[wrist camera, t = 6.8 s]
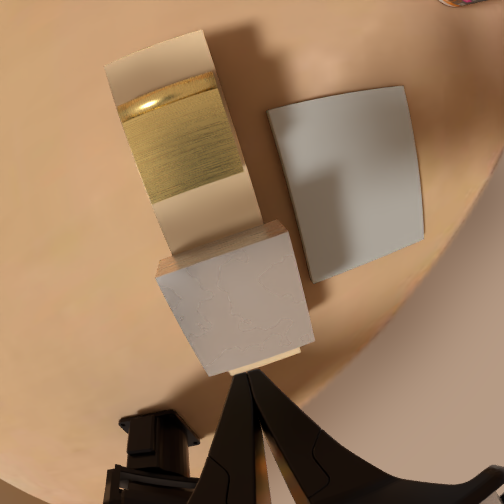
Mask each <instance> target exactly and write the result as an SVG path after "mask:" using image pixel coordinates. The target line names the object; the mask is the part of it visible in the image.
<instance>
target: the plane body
mask: <svg viewBox="0 0 504 504" xmlns="http://www.w3.org/2000/svg"><path fill="white" fill-rule="evenodd" d="M104 69H105V72H106V76H107V79H108V83H109V86H110V89H111V92H112V96H113V99H114V102H115V105H116V108H117V106H119V105H121V104H123V103H125V102H128V101H130V100H132V99H135V98H137V97H140V96H142V95H144V94H147V93H149V92H152V91H155V90H157V89H160V88H162V87H165V86H168V85H171V84H173V83H176V82H179V81H182V80H185V79H188V78H191V77H194V76H197V75H201V74H204V73H207V72H211V71H212V73H213V75H214V78H215V81H216V84H217V88H218V91H219V94H220V97H221V100H222V103H223V106H224V110H225V113H226V116H227V119H228V122H229V125H230V128H231V131H232V135H233V138H234V141H235V144H236V147H237V150H238V154H239V157H240V160H241V163H242V166H243V170H244V172H242V173H239V174H236V175H233V176H230V177H227V178H224V179H221V180H218V181H215V182H212V183H209V184H206V185H203V186H201V187H198V188H195V189H192V190H189V191H187V192H184V193H181V194H179V195H176V196H173V197H171V198H168V199H165V200H163V201H160V202H157V203H155V204H152V203H151V201H150V203H151V205H152V208H153V210H154V213H155V215H156V218H157V220H158V223H159V225H160V227H161V230H162V232H163V235H164V237H165V239H166V242H167V244H168V246H169V249H170V251H171V253H172V256H173V255H176V254H179V253H182V252H185V251H187V250H190V249H193V248H196V247H199V246H201V245H204V244H207V243H210V242H213V241H216V240H219V239H221V238H224V237H227V236H230V235H233V234H236V233H239V232H242V231H245V230H247V229H250V228H253V227H256V226H259V225H262V224H264V222H263V219H262V216H261V212H260V209H259V206H258V202H257V199H256V196H255V193H254V189H253V186H252V183H251V180H250V176H249V173H248V170H247V167H246V163H245V160H244V157H243V154H242V150H241V147H240V144H239V141H238V138H237V135H236V131H235V128H234V125H233V122H232V119H231V116H230V113H229V109H228V106H227V103H226V100H225V97H224V94H223V91H222V88H221V85H220V82H219V79H218V75H217V72H216V69H215V66H214V63H213V60H212V57H211V54H210V51H209V48H208V45H207V42H206V39H205V36H204V33H203V31H202V30H198V31H195V32H191V33H188V34H185V35H181V36H178V37H175V38H172V39H169V40H166V41H163V42H160V43H158V44H155V45H152V46H150V47H147V48H144V49H142V50H139V51H137V52H134V53H132V54H129V55H127V56H125V57H122V58H120V59H118V60H116V61H113V62H111V63H109V64H107V65H105V66H104ZM117 111H118V110H117ZM118 115H119V114H118ZM119 118H120V117H119ZM120 121H121V120H120ZM121 124H122V122H121ZM122 127H123V125H122ZM123 130H124V128H123ZM124 132H125V131H124ZM125 135H126V134H125ZM126 138H127V137H126ZM127 141H128V139H127ZM128 144H129V142H128ZM129 147H130V145H129ZM130 150H131V148H130ZM131 152H132V151H131ZM132 155H133V153H132ZM133 158H134V156H133ZM134 161H135V159H134ZM135 164H136V162H135ZM136 166H137V164H136ZM137 169H138V167H137ZM138 172H139V170H138ZM139 174H140V172H139ZM140 177H141V175H140ZM141 180H142V178H141ZM142 182H143V180H142ZM143 185H144V183H143ZM144 187H145V186H144ZM145 190H146V188H145ZM146 193H147V191H146ZM147 195H148V193H147ZM148 198H149V196H148ZM149 200H150V198H149ZM300 352H301V351H300V347H298V348H296V349H293V350H290V351H287V352H285V353H282V354H279V355H276V356H273V357H270V358H267V359H264V360H262V361H259V362H256V363H252V364H249V365H246V366H243V367H240V368H237V369H234V370H230V371H229V373H230V375H231V376H232V375H235V374H238V373H242V372H245V371H248V370H251V369H255V368H258V367H261V366H264V365H267V364H270V363H272V362H275V361H278V360H281V359H284V358H287V357H289V356H292V355H295V354H298V353H300Z"/></svg>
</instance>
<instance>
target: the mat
mask: <svg viewBox="0 0 504 504" xmlns="http://www.w3.org/2000/svg"><path fill="white" fill-rule="evenodd" d="M266 113H267V116H268V119H269V123H270V126H271V129H272V133H273V136H274V140H275V143H276V147H277V150H278V154H279V157H280V161H281V164H282V168H283V171H284V175H285V179H286V182H287V186H288V190H289V194H290V198H291V201H292V205H293V209H294V213H295V217H296V221H297V225H298V229H299V233H300V237H301V241H302V245H303V249H304V253H305V258H306V262H307V266H308V271H309V275H310V279H311V281H312V283H313V284H315V283H317V282H320V281H323V280H325V279H328V278H330V277H333V276H336V275H338V274H341V273H343V272H346V271H348V270H351V269H353V268H356V267H358V266H361V265H363V264H366V263H368V262H371V261H373V260H376V259H378V258H381V257H383V256H386V255H388V254H390V253H393V252H395V251H397V250H400V249H402V248H405V247H407V246H409V245H412V244H414V243H416V242H419V241H421V240H423V239H424V227H423V209H422V196H421V186H420V176H419V168H418V160H417V153H416V147H415V140H414V134H413V129H412V123H411V118H410V113H409V108H408V104H407V99H406V95H405V90H404V86H396V87H387V88H379V89H371V90H364V91H358V92H352V93H346V94H340V95H334V96H329V97H324V98H319V99H314V100H309V101H305V102H300V103H296V104H291V105H287V106H283V107H279V108H275V109H271V110H267V111H266Z"/></svg>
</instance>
